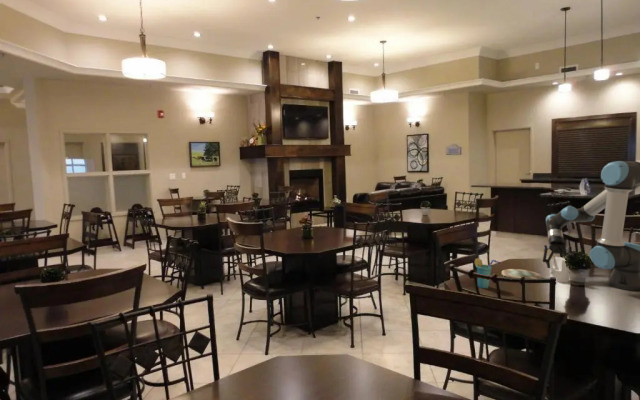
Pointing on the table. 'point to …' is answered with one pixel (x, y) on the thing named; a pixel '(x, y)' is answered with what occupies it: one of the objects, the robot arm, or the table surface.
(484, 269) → the cup
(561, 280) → the base with upright slab
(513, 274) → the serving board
